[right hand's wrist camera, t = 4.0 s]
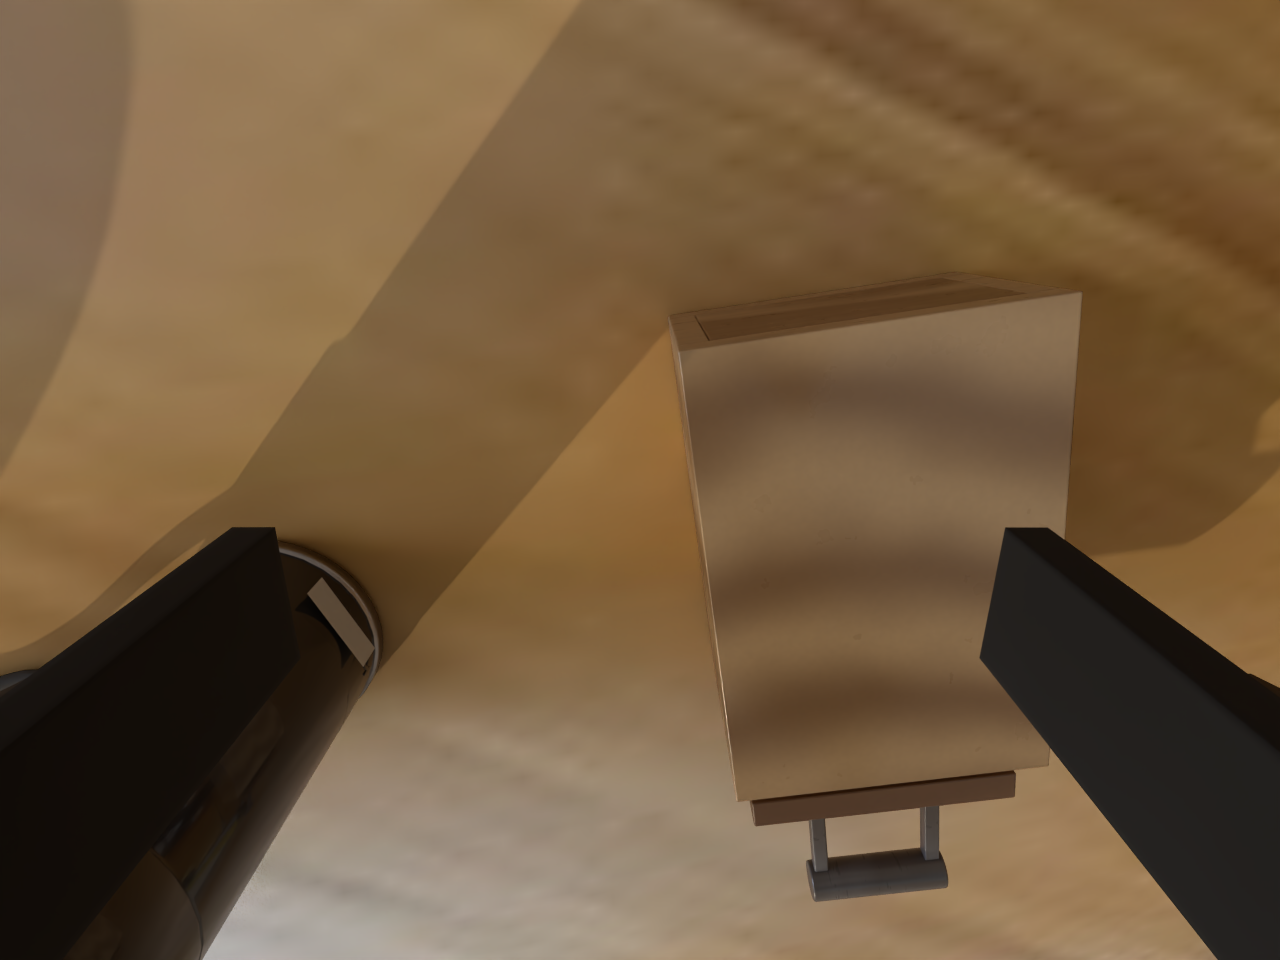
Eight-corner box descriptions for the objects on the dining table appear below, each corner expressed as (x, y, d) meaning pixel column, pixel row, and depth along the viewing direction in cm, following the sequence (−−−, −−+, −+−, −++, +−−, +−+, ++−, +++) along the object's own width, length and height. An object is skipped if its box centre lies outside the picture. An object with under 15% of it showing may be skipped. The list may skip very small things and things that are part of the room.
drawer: (948, 793, 34) (1009, 906, 29) (746, 815, 35) (767, 932, 29) (951, 372, 27) (1035, 413, 21) (695, 410, 28) (710, 459, 22)
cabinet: (953, 639, 33) (1049, 766, 25) (714, 669, 33) (736, 802, 26) (957, 271, 27) (1084, 290, 19) (667, 315, 27) (678, 351, 20)
